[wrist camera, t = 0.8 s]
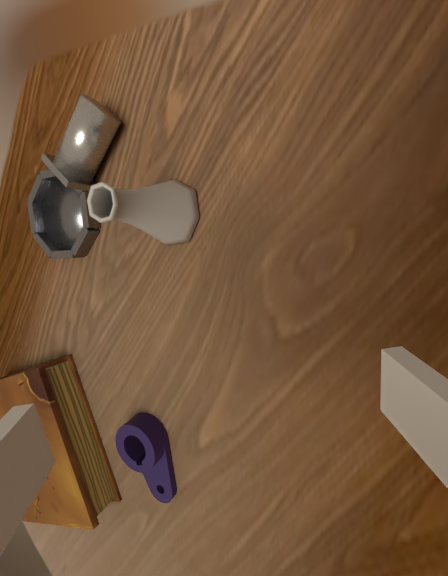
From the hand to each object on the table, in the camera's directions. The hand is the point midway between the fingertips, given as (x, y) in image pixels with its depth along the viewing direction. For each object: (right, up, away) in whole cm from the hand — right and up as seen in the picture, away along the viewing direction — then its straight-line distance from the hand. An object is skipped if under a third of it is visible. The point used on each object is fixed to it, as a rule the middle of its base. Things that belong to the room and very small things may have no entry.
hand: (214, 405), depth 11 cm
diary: (-26, -19, +37) cm, 49 cm away
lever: (-9, -18, +28) cm, 34 cm away
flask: (-5, +13, +21) cm, 25 cm away
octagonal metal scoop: (-18, +17, +26) cm, 36 cm away
